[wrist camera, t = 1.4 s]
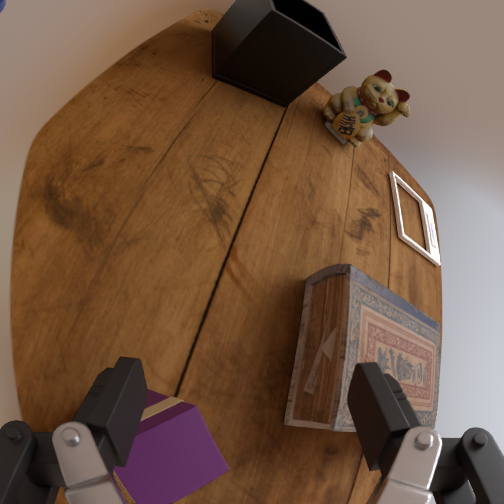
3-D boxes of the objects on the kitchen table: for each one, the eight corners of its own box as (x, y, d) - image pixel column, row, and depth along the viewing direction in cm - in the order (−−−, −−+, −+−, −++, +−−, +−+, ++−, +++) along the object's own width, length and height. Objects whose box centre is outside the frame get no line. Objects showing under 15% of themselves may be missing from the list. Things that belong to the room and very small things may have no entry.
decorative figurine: (312, 119, 47) (384, 68, 35) (319, 97, 51) (381, 51, 40) (352, 157, 51) (423, 116, 39) (354, 131, 55) (416, 92, 43)
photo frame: (441, 265, 60) (403, 235, 51) (437, 266, 61) (398, 237, 52) (432, 208, 66) (393, 170, 57) (428, 209, 67) (389, 173, 58)
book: (436, 430, 33) (325, 433, 22) (397, 431, 38) (273, 425, 27) (441, 320, 41) (345, 252, 30) (406, 327, 46) (298, 270, 35)
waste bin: (211, 77, 36) (271, 9, 26) (211, 30, 40) (259, -27, 30) (284, 108, 43) (347, 57, 34) (274, 59, 47) (324, 13, 37)
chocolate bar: (103, 453, 18) (145, 518, 10) (79, 406, 18) (100, 450, 10) (158, 428, 21) (231, 470, 13) (136, 383, 22) (197, 404, 13)
